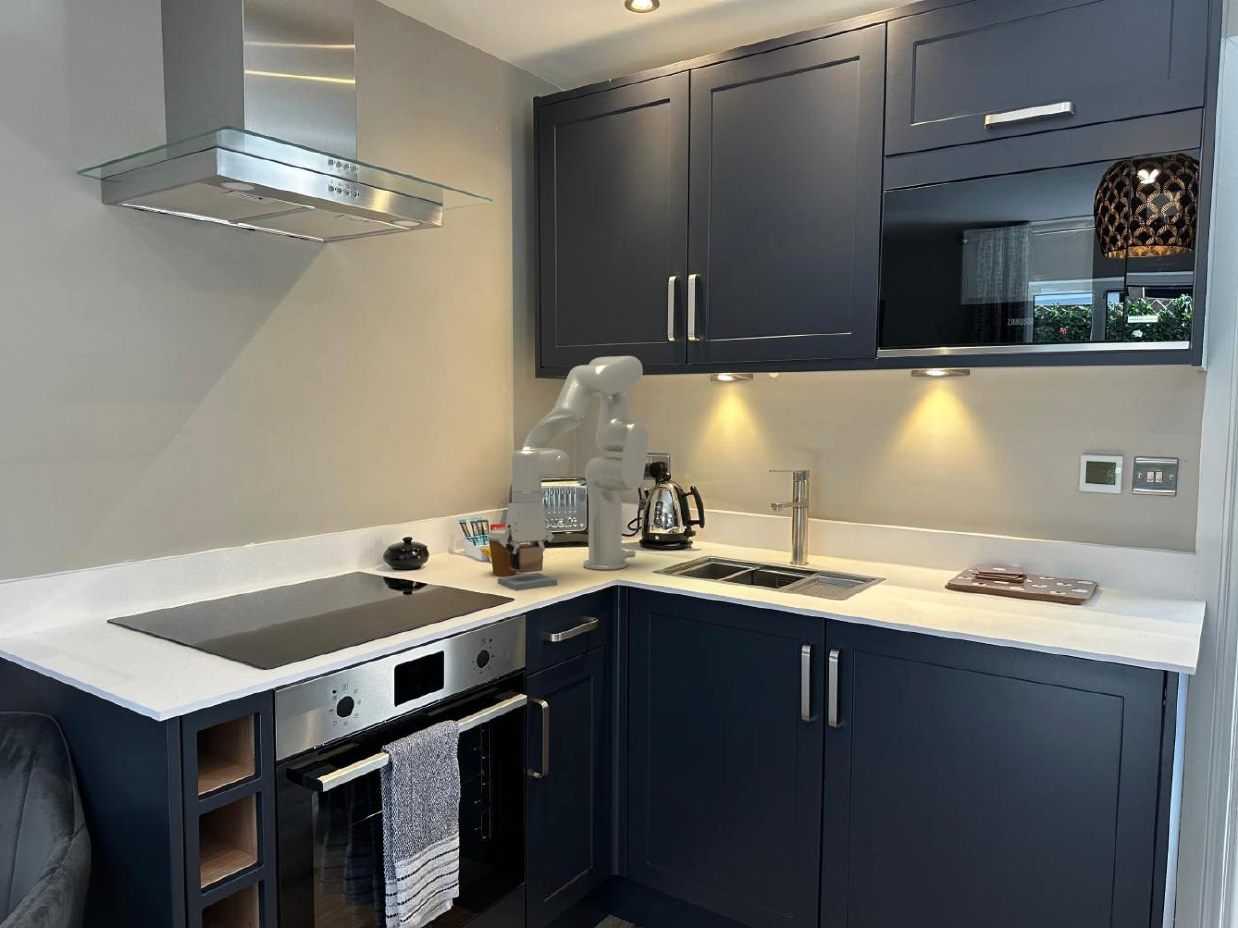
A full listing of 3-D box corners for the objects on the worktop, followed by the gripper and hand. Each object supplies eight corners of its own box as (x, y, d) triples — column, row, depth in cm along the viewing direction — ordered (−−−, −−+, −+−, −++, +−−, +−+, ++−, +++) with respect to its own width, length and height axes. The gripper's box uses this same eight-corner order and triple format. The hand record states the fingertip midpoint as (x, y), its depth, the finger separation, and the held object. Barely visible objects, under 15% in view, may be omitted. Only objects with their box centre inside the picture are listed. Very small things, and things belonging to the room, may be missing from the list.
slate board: (538, 578, 224) (538, 572, 224) (557, 584, 216) (557, 579, 216) (497, 583, 217) (497, 577, 217) (515, 590, 209) (515, 584, 209)
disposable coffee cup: (480, 573, 230) (480, 530, 229) (509, 569, 236) (509, 527, 235) (499, 579, 223) (499, 534, 222) (529, 574, 229) (528, 531, 228)
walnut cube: (542, 570, 215) (542, 547, 215) (521, 573, 212) (521, 549, 212) (531, 567, 220) (531, 544, 220) (511, 569, 217) (510, 546, 216)
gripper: (548, 495, 223) (548, 561, 224) (489, 498, 213) (489, 568, 214) (563, 497, 217) (562, 566, 218) (502, 501, 207) (503, 573, 208)
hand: (526, 566), depth 216 cm, fingers closed on walnut cube, 6 cm apart
